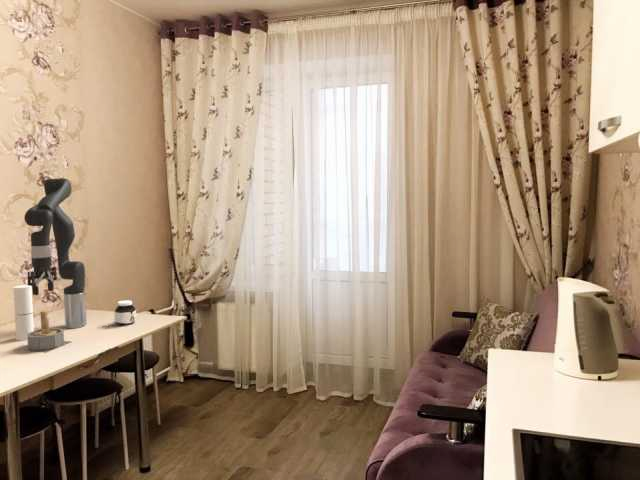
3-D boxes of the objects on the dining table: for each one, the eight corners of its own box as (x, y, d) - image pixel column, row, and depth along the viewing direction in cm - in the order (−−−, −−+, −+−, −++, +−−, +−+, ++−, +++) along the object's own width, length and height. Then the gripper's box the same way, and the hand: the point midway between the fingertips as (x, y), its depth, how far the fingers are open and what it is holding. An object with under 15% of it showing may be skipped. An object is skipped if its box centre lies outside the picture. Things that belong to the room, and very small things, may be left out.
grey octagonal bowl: (44, 340, 226) (43, 327, 226) (70, 342, 223) (69, 329, 223) (20, 349, 213) (19, 335, 212) (47, 351, 210) (47, 337, 209)
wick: (45, 342, 220) (44, 311, 218) (51, 342, 219) (49, 311, 218) (40, 344, 217) (38, 312, 216) (46, 344, 216) (44, 313, 215)
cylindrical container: (26, 342, 225) (23, 288, 223) (12, 341, 227) (9, 287, 225) (37, 338, 232) (35, 285, 230) (24, 337, 234) (21, 284, 232)
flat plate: (45, 341, 227) (45, 339, 227) (72, 343, 224) (72, 341, 224) (18, 352, 212) (17, 350, 212) (46, 354, 209) (46, 352, 209)
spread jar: (122, 327, 252) (121, 304, 251) (108, 324, 258) (107, 302, 257) (141, 322, 262) (141, 300, 261) (127, 319, 268) (127, 297, 267)
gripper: (46, 253, 222) (48, 289, 224) (20, 257, 208) (23, 296, 210) (60, 254, 220) (62, 290, 222) (36, 258, 206) (38, 296, 208)
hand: (43, 292), depth 216 cm, fingers open, 8 cm apart
